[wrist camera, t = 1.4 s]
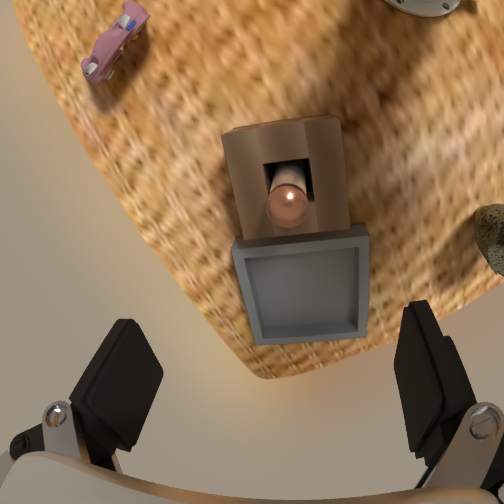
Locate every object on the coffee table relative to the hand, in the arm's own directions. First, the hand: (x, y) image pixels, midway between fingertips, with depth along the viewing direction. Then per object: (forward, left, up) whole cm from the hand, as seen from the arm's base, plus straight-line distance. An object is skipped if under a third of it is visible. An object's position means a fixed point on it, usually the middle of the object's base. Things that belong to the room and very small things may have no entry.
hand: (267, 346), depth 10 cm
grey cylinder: (0, 0, -25) cm, 25 cm away
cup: (-24, +8, -25) cm, 35 cm away
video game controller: (+15, -18, -25) cm, 34 cm away
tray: (0, +15, -25) cm, 29 cm away
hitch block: (0, 0, -25) cm, 24 cm away
